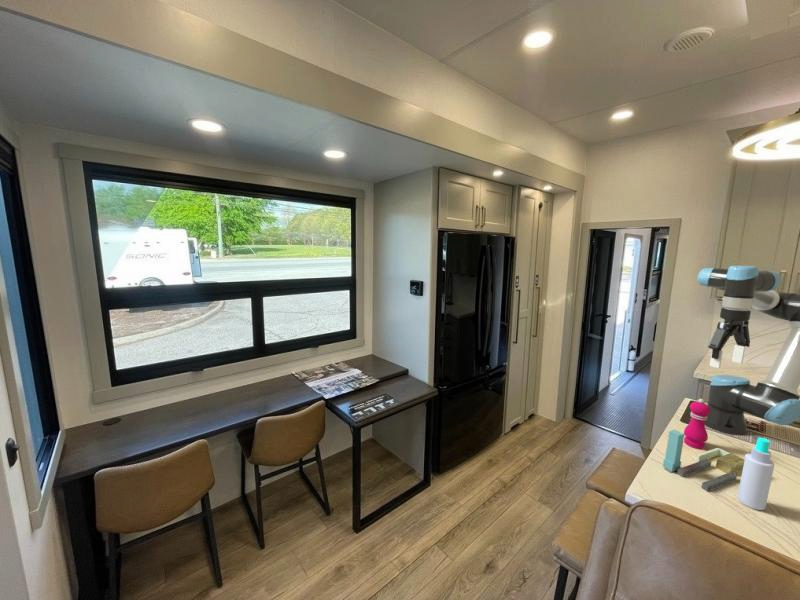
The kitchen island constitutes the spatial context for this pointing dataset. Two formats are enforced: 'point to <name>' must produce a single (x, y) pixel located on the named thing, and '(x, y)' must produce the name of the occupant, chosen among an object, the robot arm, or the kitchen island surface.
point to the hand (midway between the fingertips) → (726, 364)
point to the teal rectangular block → (673, 450)
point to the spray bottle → (756, 476)
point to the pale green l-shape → (711, 454)
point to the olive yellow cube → (726, 464)
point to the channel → (710, 483)
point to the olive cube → (737, 459)
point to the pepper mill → (697, 425)
